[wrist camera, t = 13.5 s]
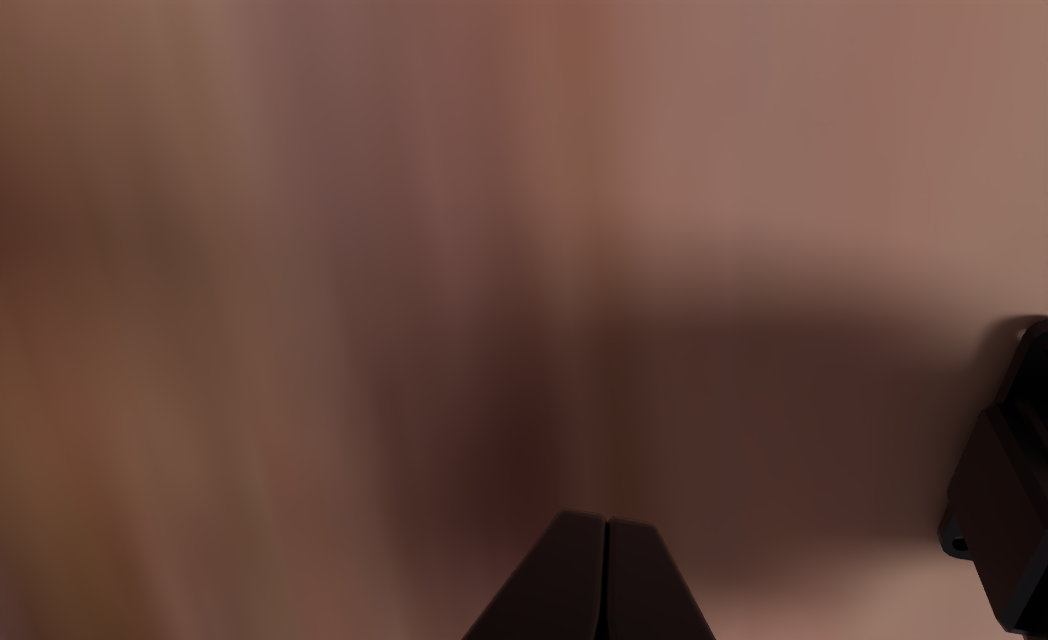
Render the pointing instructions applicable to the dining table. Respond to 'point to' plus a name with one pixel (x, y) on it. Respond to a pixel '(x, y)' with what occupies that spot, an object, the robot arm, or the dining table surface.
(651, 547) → the robot arm
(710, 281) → the dining table surface
